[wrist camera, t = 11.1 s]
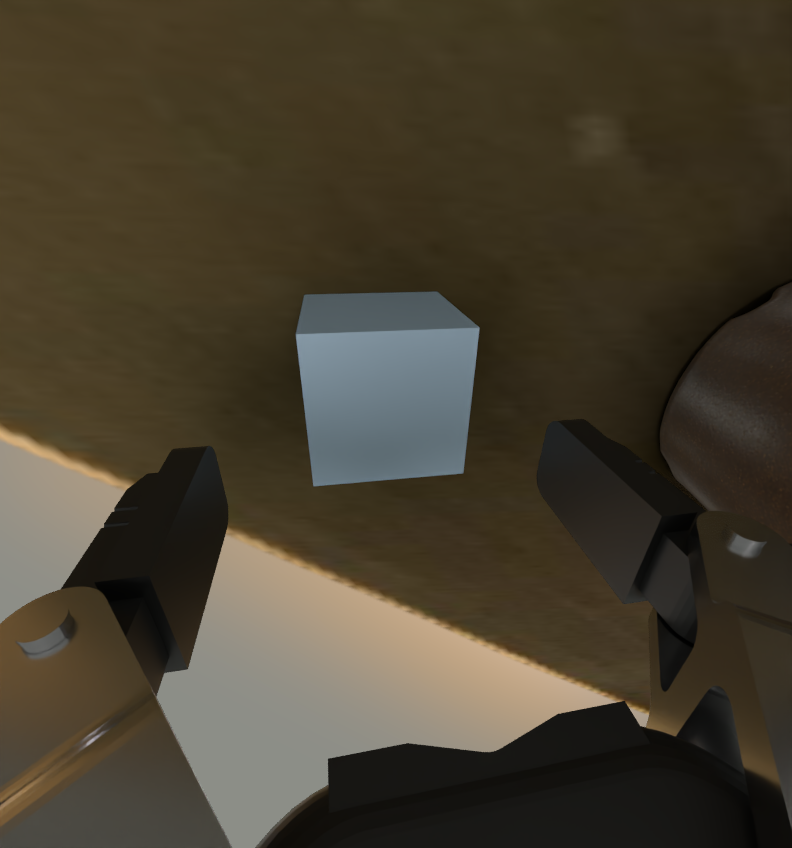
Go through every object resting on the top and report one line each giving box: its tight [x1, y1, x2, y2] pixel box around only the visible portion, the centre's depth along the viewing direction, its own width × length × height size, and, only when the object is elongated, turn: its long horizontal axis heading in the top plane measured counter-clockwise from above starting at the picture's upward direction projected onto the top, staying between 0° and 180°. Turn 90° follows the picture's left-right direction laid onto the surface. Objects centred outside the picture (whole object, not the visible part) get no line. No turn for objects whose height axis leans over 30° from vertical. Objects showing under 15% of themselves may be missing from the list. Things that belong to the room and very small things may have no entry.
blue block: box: [296, 292, 480, 486], centre depth 14 cm, size 5×5×5 cm
